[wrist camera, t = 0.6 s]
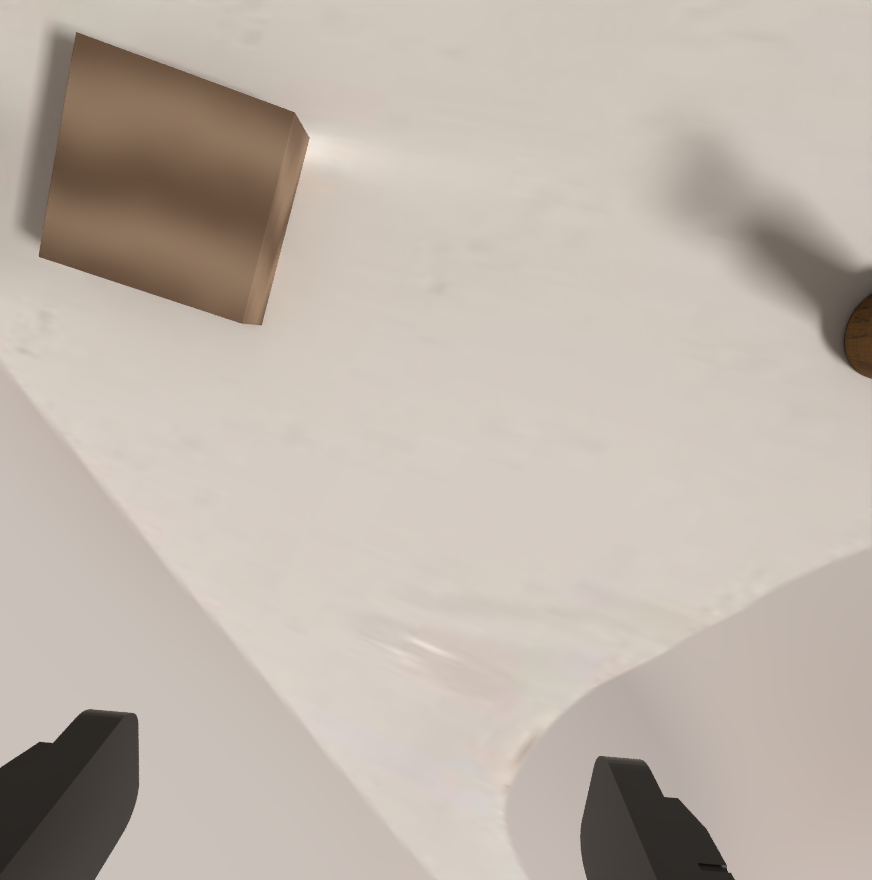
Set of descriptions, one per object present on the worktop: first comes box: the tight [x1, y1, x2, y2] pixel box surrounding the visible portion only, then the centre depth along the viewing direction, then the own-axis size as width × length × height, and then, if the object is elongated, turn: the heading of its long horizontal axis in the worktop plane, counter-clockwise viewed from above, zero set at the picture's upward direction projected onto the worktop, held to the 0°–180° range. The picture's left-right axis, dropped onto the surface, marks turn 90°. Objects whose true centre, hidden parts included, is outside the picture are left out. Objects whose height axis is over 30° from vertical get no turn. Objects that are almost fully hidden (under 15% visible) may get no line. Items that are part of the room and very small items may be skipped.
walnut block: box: [39, 32, 309, 325], centre depth 30 cm, size 12×12×4 cm
